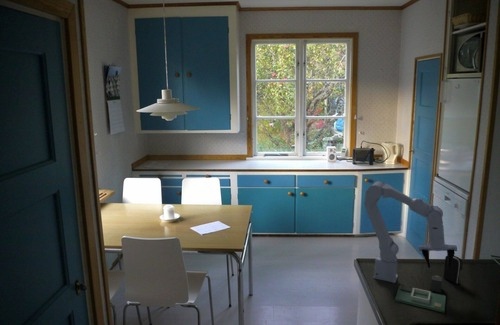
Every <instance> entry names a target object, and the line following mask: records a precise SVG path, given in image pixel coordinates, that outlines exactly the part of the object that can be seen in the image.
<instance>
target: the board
mask: <svg viewBox="0 0 500 325" xmlns="http://www.w3.org/2000/svg"><path fill="white" fill-rule="evenodd" d="M446 297H447V296H446V295H444V294H439V293H434V292H432V291H431V290H430V291H429V290H427V289H426V290H425V289H421V288H416V287H410V286H409V287H408V286H405V285H399V286H398V289H397V291H396V296H395V298H394V300H395V302H398V303H402V304H405V305H410V306H411V305H412V306H414V307H418V308H424V309H427V310H432V311H435V312H439V313H443V314H444V313H445V310H446V309H445V308H446Z"/></svg>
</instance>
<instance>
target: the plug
mask: <svg viewBox="0 0 500 325" xmlns="http://www.w3.org/2000/svg"><path fill="white" fill-rule="evenodd" d="M442 283H443V277H442V276H440V275H431V281H430V291H431V292H432V291H433V292H436V293H437V292H438V293H441V292H442V285H443V284H442Z"/></svg>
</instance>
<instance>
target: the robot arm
mask: <svg viewBox="0 0 500 325" xmlns="http://www.w3.org/2000/svg"><path fill="white" fill-rule="evenodd" d="M380 198H382V199H387V198H391V199H394V200H396V201H398V202H401V203H403V204H405V205H406V206H408V207H409V210H410V211H412V212H414V213H416V214H418V215H419V216H421V217H423V218H425V219H426V221H427V223H428V227H427V229H428V237H429V238H428V239H429V243H428V244H421V245H420V244H419V245H418V251H419V252H421V254H422V257H424V259H425V262H426V264H427V267H428V269H430V268H431V264H430V255H429V252H430V251H431V252H432V251H433V252H441V251H443V252H444V251H445V252H446V256H448V268H450V265H451V261H452V258H453V256H455V253H456V252H458V246H457V244H446V243H445V233H444V222H443V217H444V212H443V210H442V209H441V207H439V206H438V205H433V204H430V203H427V202H425V201H424V200H423V198H420V197H419V198H417V197H416V198H411V197H410V196H408V195H406V194H405V193H404V192H401V191H400V190H398V189H396V188H395V187H393V186H391V185H390V184H388V183H386V182H383V181H381V180H376V181H375V182H373V183H372V185H370V186H369V187H368V188H367V190H366V191H365V197H364V202H363V204H364V208H365V210H366V212H367V215H368V218H369V220H370V223H371V225H372V228H373V230H374V233H375V235H376V237H377V239H378V248H379V256H376V257H375V260H374V269H373V271H374V272H373V279H375V280H381V281H385V282H390V283H394V284H396V282H397V279H398V277H399V275H398V274H397V270H398V258H397V254H398V253H399V250H400V249H399V246H398V244H397V243H396V242H395V241H394V239H393V238H392V237H391V235H390V233H389V231H388V228H387V226H386V224H385V222H384V219H383V216H382V214H381V211H380V209H379V206H378V203H379V200H380Z"/></svg>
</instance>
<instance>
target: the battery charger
mask: <svg viewBox="0 0 500 325" xmlns="http://www.w3.org/2000/svg"><path fill="white" fill-rule="evenodd" d="M463 265H464V264H463V259H462V258H460V257H458V256H456V255H454V256H453V258H452V261H451V265H450V268H448V256H447V255H446V256H445V257H444V266H443V267H444V269H443V278H444V279H445V280H446V281H447V280H448V281H449V282H451V283H452V284H459V283H460V273H461V271H462V270H463Z"/></svg>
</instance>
